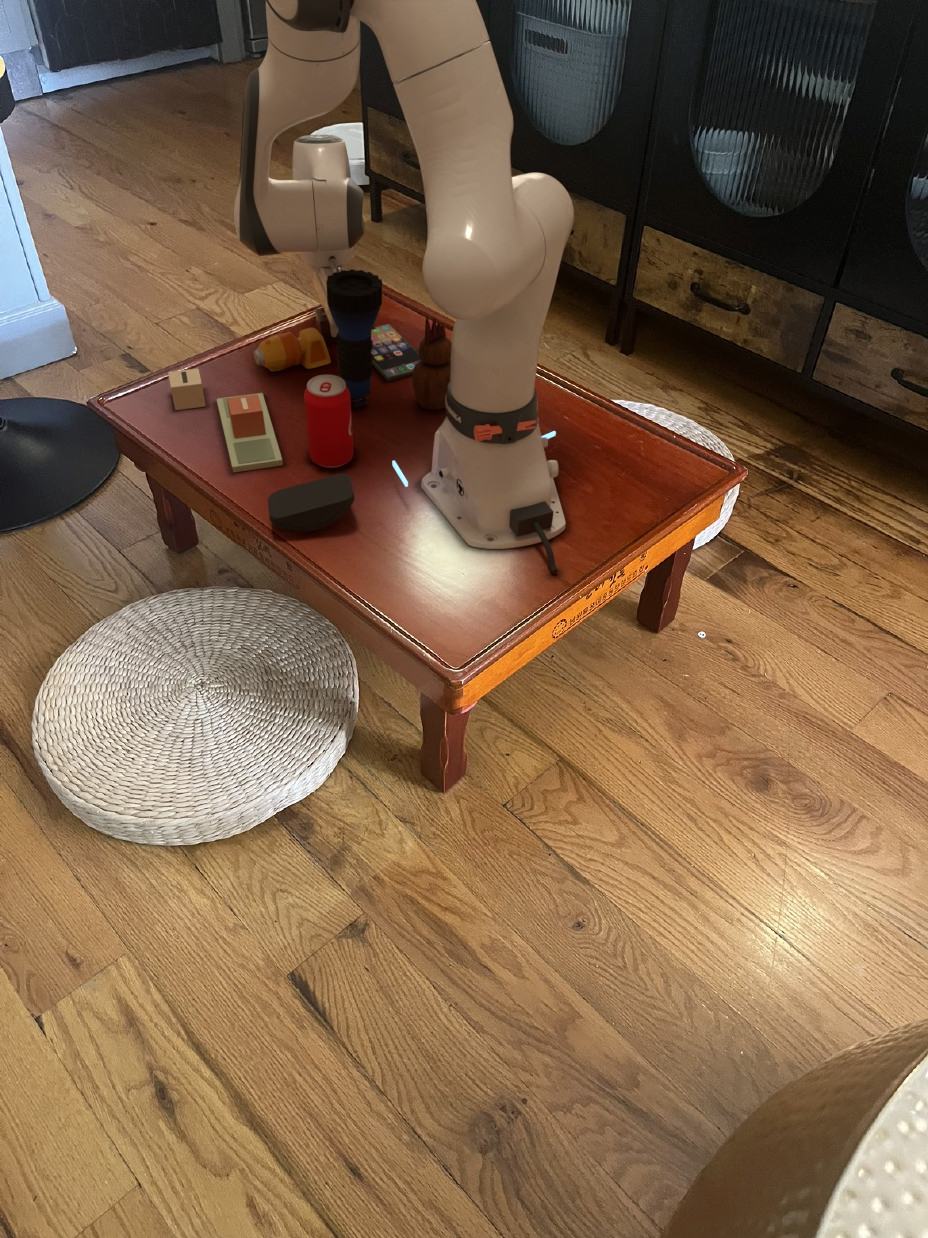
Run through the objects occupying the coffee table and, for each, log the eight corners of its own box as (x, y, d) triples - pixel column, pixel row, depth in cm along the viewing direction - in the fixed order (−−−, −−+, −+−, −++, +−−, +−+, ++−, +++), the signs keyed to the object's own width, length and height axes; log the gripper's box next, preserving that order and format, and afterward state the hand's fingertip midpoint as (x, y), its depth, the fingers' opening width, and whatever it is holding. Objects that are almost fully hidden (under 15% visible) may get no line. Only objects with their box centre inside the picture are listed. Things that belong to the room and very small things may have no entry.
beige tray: (283, 465, 132) (279, 434, 129) (233, 472, 130) (227, 441, 127) (263, 398, 144) (259, 368, 140) (217, 404, 142) (212, 374, 139)
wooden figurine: (421, 418, 142) (422, 327, 131) (407, 399, 146) (406, 308, 135) (461, 409, 144) (465, 319, 133) (447, 391, 148) (449, 301, 137)
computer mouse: (268, 521, 118) (278, 545, 121) (354, 497, 119) (362, 522, 121) (265, 493, 123) (275, 517, 126) (348, 471, 123) (356, 495, 126)
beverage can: (357, 447, 136) (353, 374, 127) (349, 472, 131) (345, 398, 123) (314, 443, 136) (308, 370, 128) (305, 468, 132) (298, 394, 123)
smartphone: (387, 381, 149) (387, 375, 148) (347, 339, 158) (346, 332, 157) (431, 369, 152) (431, 363, 151) (389, 329, 161) (389, 322, 160)
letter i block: (205, 406, 142) (201, 382, 139) (175, 410, 141) (170, 386, 138) (202, 391, 145) (198, 367, 142) (172, 394, 144) (167, 370, 141)
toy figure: (264, 381, 148) (333, 363, 152) (259, 350, 144) (331, 331, 148) (251, 365, 151) (319, 348, 155) (246, 334, 147) (316, 317, 151)
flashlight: (395, 409, 143) (393, 284, 129) (353, 426, 140) (346, 300, 125) (365, 386, 148) (360, 263, 133) (323, 403, 144) (313, 278, 130)
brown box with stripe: (348, 340, 157) (347, 317, 154) (321, 343, 156) (319, 320, 153) (342, 327, 160) (341, 304, 157) (316, 330, 159) (314, 307, 156)
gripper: (360, 271, 141) (364, 354, 150) (333, 217, 154) (338, 297, 164) (319, 275, 139) (325, 359, 149) (295, 220, 153) (302, 300, 163)
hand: (332, 326), depth 157 cm, fingers closed on brown box with stripe, 4 cm apart
